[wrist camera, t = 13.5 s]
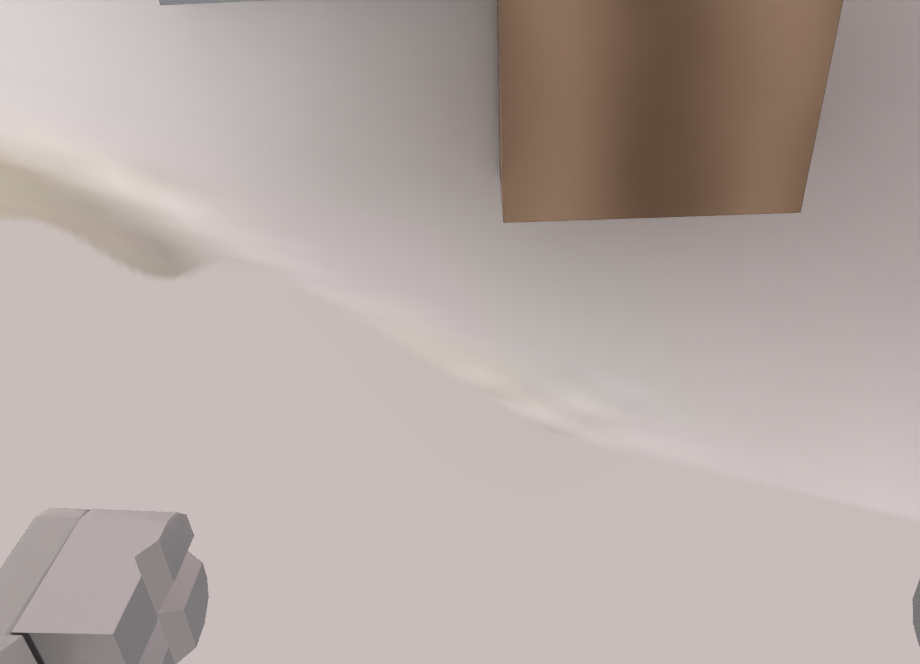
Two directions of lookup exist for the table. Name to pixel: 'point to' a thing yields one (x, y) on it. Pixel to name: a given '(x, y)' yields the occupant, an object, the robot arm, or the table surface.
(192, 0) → the charcoal tray
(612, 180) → the walnut stand
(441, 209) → the table surface
